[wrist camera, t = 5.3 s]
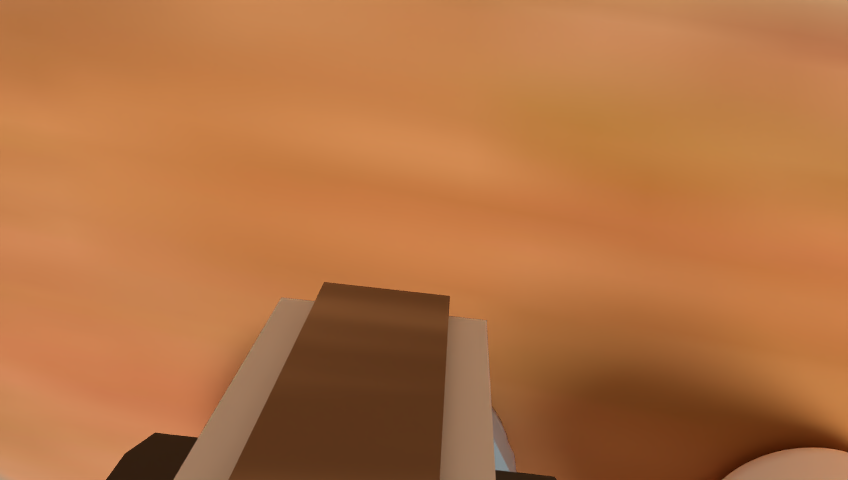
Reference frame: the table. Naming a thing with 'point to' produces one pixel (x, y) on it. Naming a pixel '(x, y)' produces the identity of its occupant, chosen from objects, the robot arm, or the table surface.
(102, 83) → the table surface
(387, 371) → the wooden rectangular block
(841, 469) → the cup
